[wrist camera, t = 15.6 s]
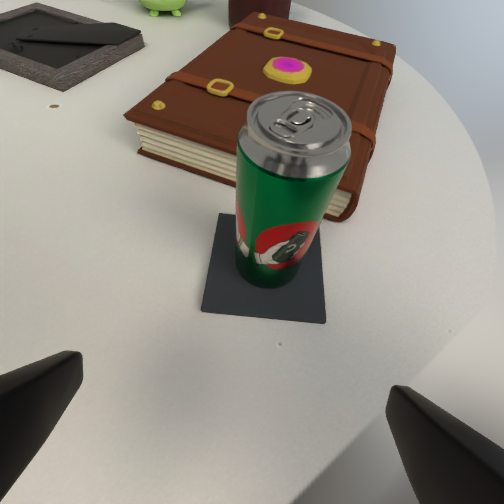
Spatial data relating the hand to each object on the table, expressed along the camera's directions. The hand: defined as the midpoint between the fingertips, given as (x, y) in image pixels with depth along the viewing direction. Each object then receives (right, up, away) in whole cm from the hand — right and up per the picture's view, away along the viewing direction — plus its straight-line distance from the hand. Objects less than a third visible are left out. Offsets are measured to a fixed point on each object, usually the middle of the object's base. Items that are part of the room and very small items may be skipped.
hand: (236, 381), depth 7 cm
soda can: (+2, +3, +13) cm, 14 cm away
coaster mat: (+2, +3, +14) cm, 14 cm away
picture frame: (-29, +34, +31) cm, 54 cm away
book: (+5, +22, +26) cm, 35 cm away
